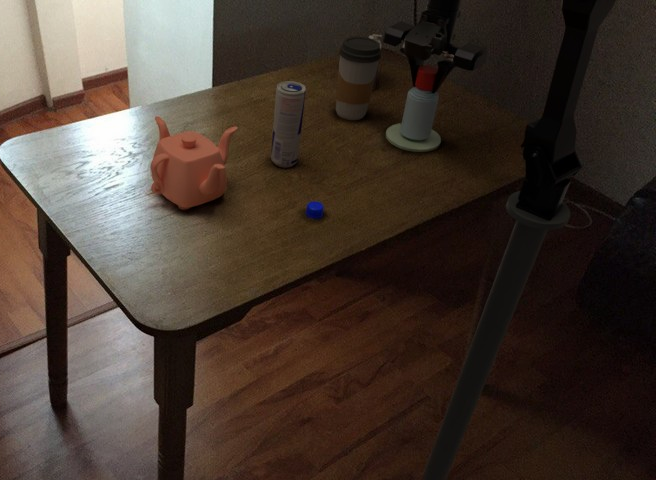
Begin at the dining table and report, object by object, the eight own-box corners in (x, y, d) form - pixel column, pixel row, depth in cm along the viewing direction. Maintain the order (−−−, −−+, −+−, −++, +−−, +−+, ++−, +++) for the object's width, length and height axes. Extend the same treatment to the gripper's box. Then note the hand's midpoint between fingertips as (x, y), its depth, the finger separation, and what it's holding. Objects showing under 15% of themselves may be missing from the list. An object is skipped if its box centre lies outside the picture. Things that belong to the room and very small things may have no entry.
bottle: (434, 139, 139) (449, 78, 131) (405, 140, 138) (418, 79, 130) (423, 125, 144) (437, 65, 135) (396, 126, 143) (408, 66, 134)
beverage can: (300, 158, 133) (309, 83, 123) (293, 171, 129) (301, 94, 119) (275, 153, 134) (281, 77, 124) (266, 165, 130) (272, 89, 120)
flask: (361, 72, 165) (369, 26, 158) (373, 73, 165) (382, 27, 158) (364, 89, 158) (372, 42, 151) (377, 90, 158) (385, 43, 151)
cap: (431, 81, 136) (435, 64, 134) (439, 90, 133) (443, 73, 131) (412, 81, 136) (415, 65, 134) (419, 90, 133) (422, 74, 131)
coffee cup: (372, 124, 145) (385, 52, 136) (332, 121, 145) (342, 50, 135) (368, 106, 152) (380, 36, 142) (329, 103, 151) (339, 34, 142)
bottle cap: (313, 220, 118) (314, 212, 117) (301, 212, 120) (303, 203, 118) (326, 215, 119) (328, 207, 118) (315, 207, 121) (316, 198, 120)
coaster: (449, 138, 143) (450, 135, 142) (423, 158, 136) (424, 155, 136) (402, 120, 148) (403, 117, 147) (375, 138, 141) (375, 135, 140)
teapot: (157, 168, 127) (155, 112, 120) (235, 177, 127) (238, 121, 119) (137, 212, 116) (133, 153, 109) (222, 223, 116) (224, 164, 108)
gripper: (374, 2, 124) (360, 87, 134) (471, 31, 116) (448, 119, 126) (405, -11, 131) (390, 70, 141) (499, 15, 122) (476, 100, 133)
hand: (424, 89), depth 135 cm, fingers closed on cap, 4 cm apart
